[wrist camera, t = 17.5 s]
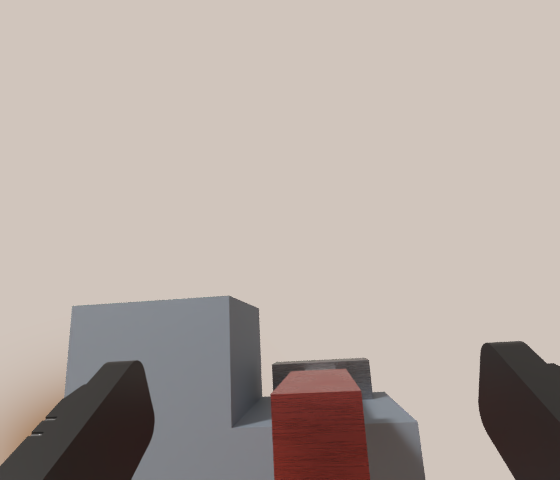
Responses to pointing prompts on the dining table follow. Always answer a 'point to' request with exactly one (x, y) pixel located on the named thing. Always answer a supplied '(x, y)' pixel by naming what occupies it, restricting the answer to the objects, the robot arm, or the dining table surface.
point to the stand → (214, 390)
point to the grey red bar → (320, 419)
